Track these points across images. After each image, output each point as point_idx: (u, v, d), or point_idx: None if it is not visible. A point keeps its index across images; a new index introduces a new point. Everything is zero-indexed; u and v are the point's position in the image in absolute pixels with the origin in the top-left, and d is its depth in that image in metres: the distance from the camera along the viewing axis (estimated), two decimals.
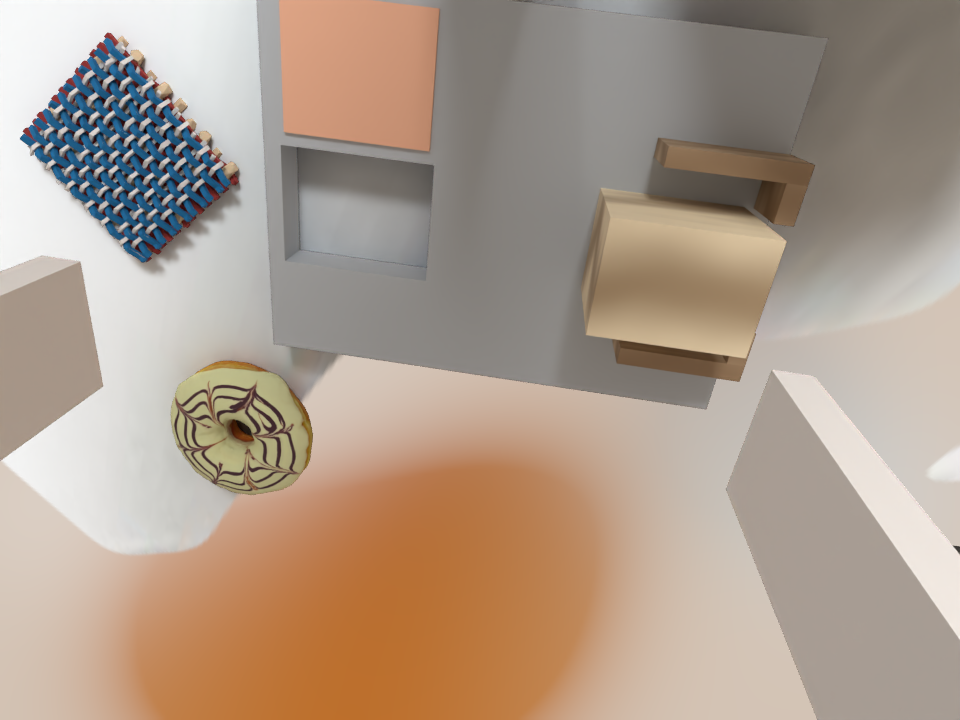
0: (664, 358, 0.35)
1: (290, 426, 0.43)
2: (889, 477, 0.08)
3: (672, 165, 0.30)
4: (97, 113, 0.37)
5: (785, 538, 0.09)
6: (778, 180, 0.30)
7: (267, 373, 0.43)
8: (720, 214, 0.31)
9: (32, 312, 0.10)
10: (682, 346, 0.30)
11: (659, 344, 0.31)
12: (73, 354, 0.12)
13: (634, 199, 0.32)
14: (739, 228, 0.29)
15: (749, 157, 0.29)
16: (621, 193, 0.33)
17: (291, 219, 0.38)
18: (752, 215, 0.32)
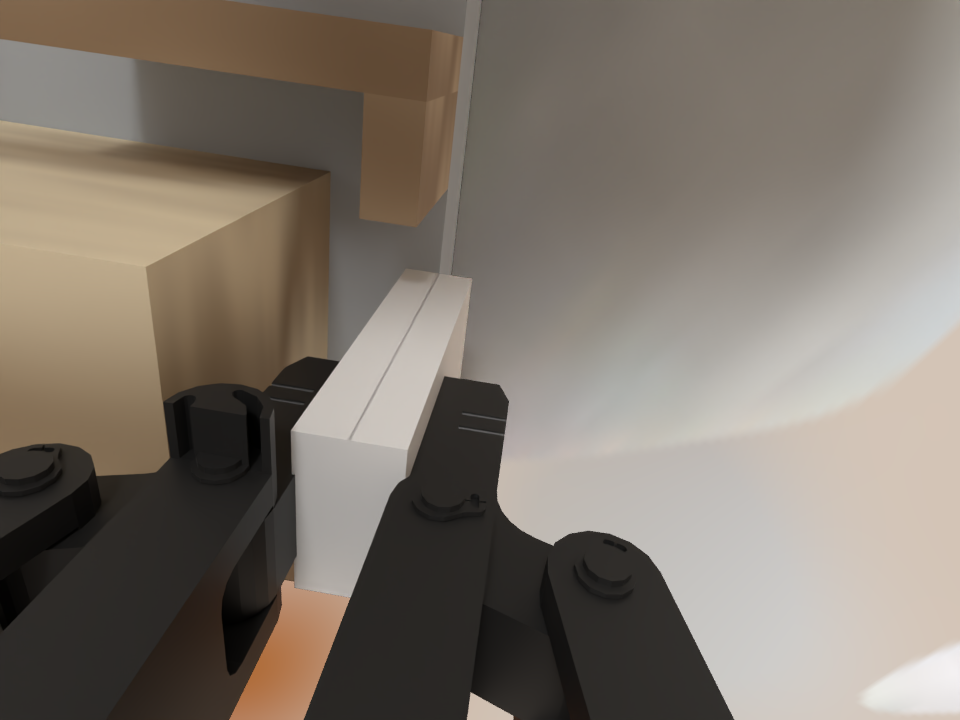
0: None
1: None
2: (446, 332, 0.11)
3: (19, 32, 0.10)
4: None
5: None
6: (337, 82, 0.10)
7: None
8: (169, 181, 0.11)
9: None
10: None
11: None
12: None
13: None
14: (81, 218, 0.09)
15: (231, 4, 0.09)
16: (3, 129, 0.13)
17: None
18: (288, 188, 0.12)
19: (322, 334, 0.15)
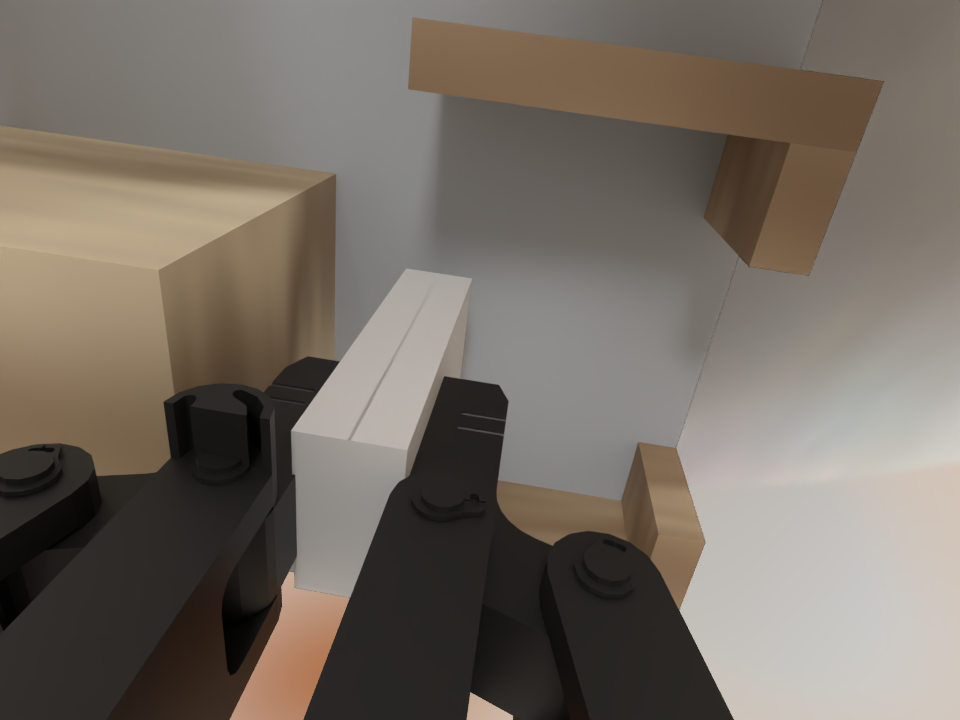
0: None
1: None
2: (445, 332, 0.11)
3: (432, 83, 0.10)
4: None
5: None
6: (763, 133, 0.09)
7: None
8: (178, 185, 0.11)
9: None
10: None
11: None
12: None
13: None
14: (94, 223, 0.09)
15: (670, 55, 0.09)
16: (15, 136, 0.13)
17: None
18: (295, 190, 0.12)
19: (329, 334, 0.15)
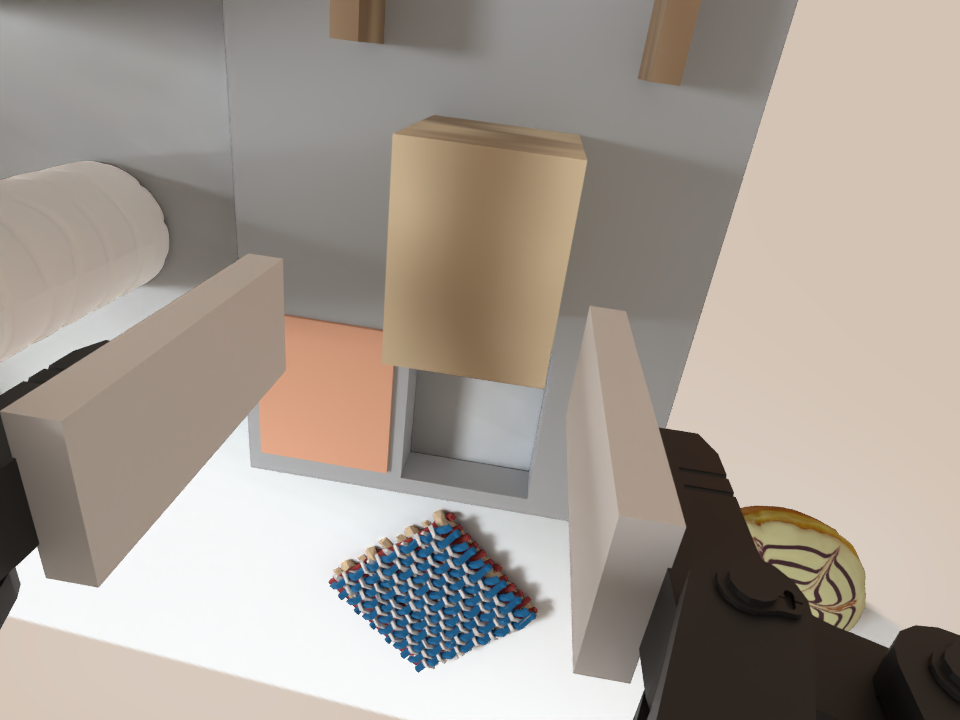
0: None
1: (756, 541, 0.32)
2: (638, 377, 0.10)
3: (354, 28, 0.21)
4: (392, 611, 0.40)
5: (577, 439, 0.11)
6: None
7: None
8: None
9: (256, 303, 0.12)
10: (563, 261, 0.20)
11: (560, 293, 0.20)
12: (273, 341, 0.13)
13: None
14: None
15: None
16: None
17: (487, 477, 0.34)
18: None
19: (527, 128, 0.24)
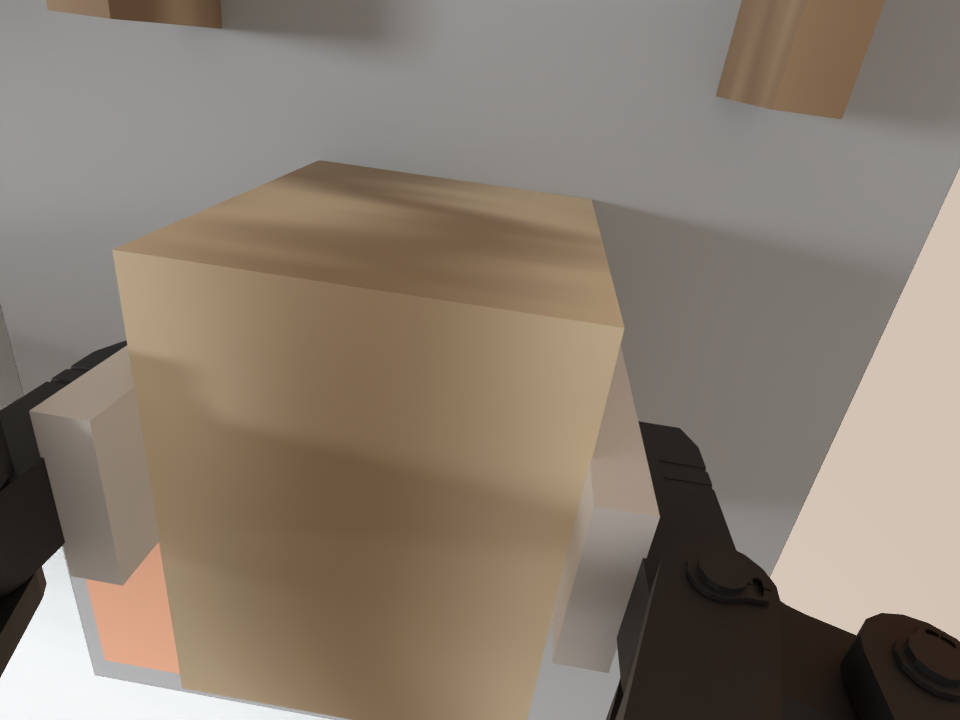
0: None
1: None
2: (621, 372, 0.10)
3: None
4: None
5: None
6: None
7: None
8: None
9: None
10: (561, 539, 0.08)
11: (552, 598, 0.09)
12: None
13: None
14: None
15: None
16: None
17: None
18: None
19: (492, 189, 0.13)
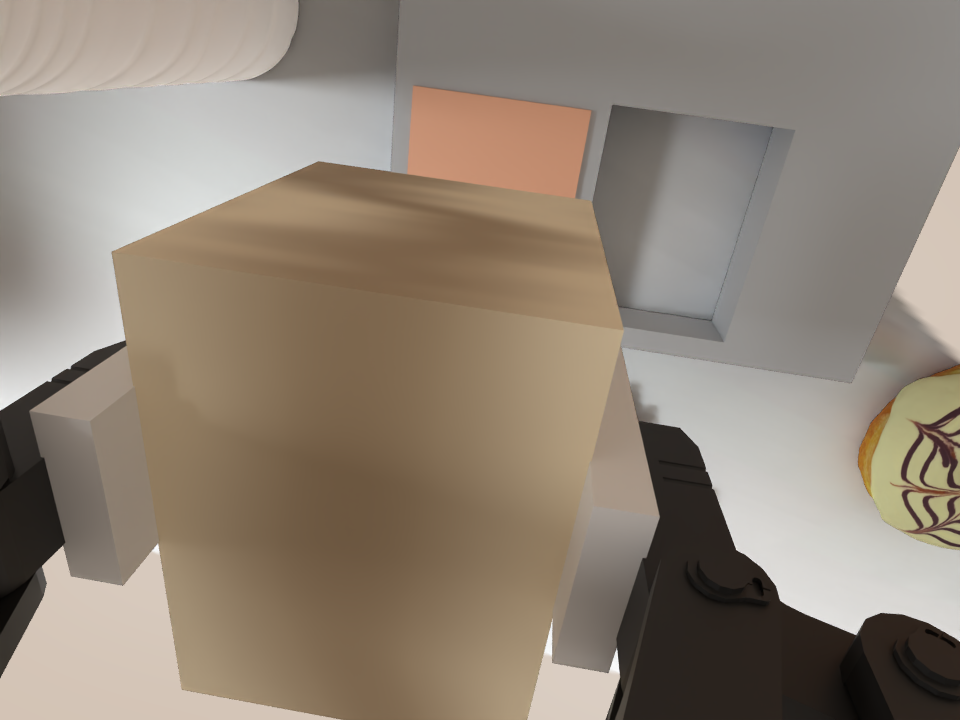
0: None
1: None
2: (620, 372, 0.10)
3: None
4: None
5: None
6: None
7: (897, 402, 0.29)
8: None
9: None
10: (560, 541, 0.08)
11: (551, 600, 0.09)
12: None
13: None
14: None
15: None
16: None
17: (667, 323, 0.28)
18: None
19: (492, 190, 0.13)
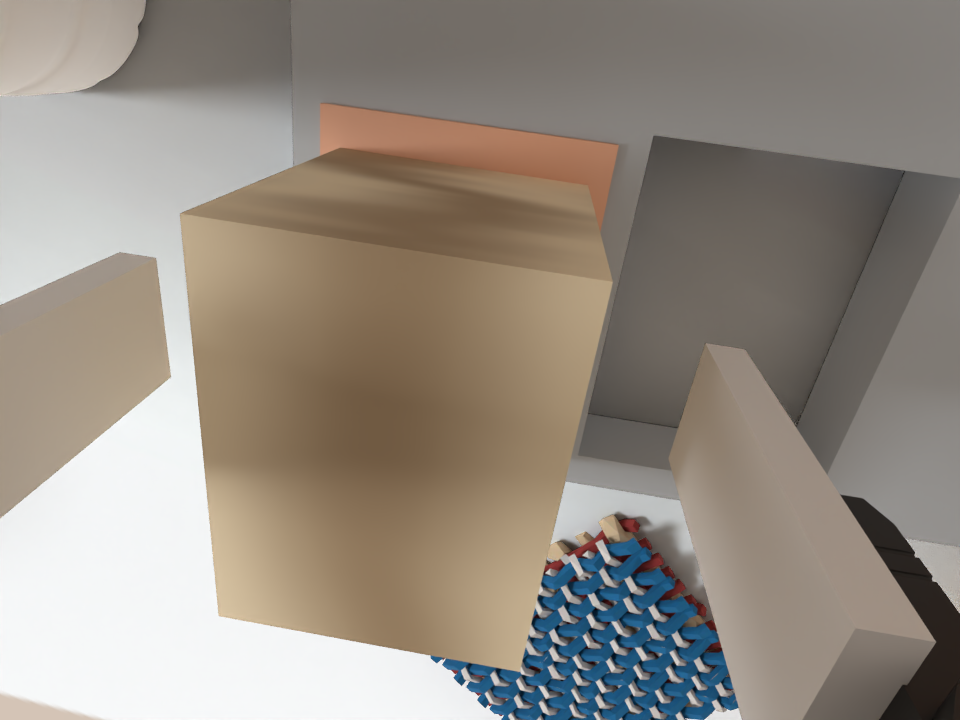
0: None
1: None
2: (793, 434, 0.09)
3: None
4: (517, 680, 0.25)
5: (708, 496, 0.10)
6: None
7: None
8: None
9: (117, 306, 0.11)
10: (558, 471, 0.10)
11: (550, 526, 0.10)
12: (148, 346, 0.12)
13: None
14: None
15: None
16: None
17: None
18: None
19: (497, 174, 0.14)
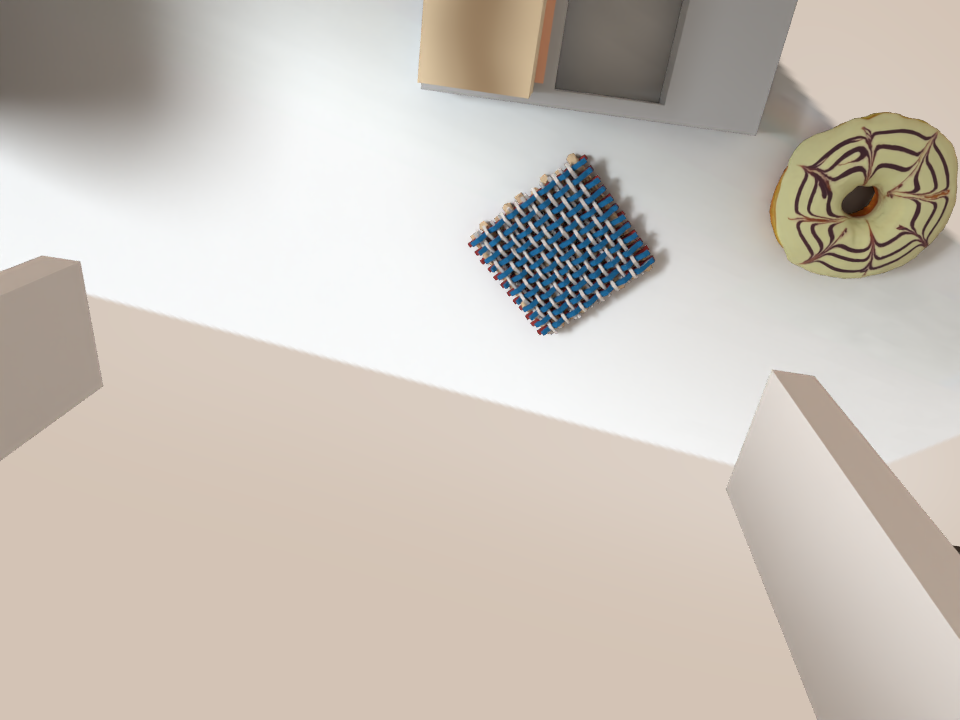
0: None
1: (865, 130, 0.37)
2: (889, 477, 0.08)
3: None
4: (525, 266, 0.45)
5: (785, 538, 0.09)
6: None
7: (792, 156, 0.40)
8: None
9: (32, 312, 0.10)
10: None
11: (539, 19, 0.31)
12: (73, 354, 0.12)
13: None
14: None
15: None
16: None
17: (625, 99, 0.40)
18: None
19: None
